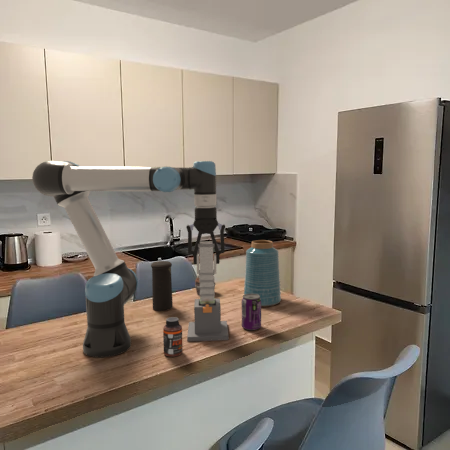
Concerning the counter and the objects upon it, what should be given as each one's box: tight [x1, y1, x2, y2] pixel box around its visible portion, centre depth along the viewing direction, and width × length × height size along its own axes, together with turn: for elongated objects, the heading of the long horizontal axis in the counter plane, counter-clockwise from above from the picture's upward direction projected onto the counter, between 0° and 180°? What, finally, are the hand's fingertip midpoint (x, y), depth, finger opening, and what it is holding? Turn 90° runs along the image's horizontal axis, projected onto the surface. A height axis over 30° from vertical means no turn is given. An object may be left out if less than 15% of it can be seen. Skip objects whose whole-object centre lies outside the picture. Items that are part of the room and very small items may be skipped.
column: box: [198, 240, 216, 306], centre depth 142 cm, size 6×6×23 cm
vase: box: [243, 239, 282, 308], centre depth 176 cm, size 16×16×27 cm
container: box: [150, 260, 174, 312], centre depth 170 cm, size 9×9×20 cm
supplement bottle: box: [162, 316, 183, 358], centre depth 127 cm, size 6×6×11 cm
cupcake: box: [194, 274, 216, 297], centre depth 190 cm, size 10×10×10 cm
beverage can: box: [241, 294, 262, 331], centre depth 148 cm, size 7×7×12 cm
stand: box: [186, 298, 229, 342], centre depth 144 cm, size 14×14×12 cm
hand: (206, 272), depth 142 cm, fingers closed on column, 5 cm apart
